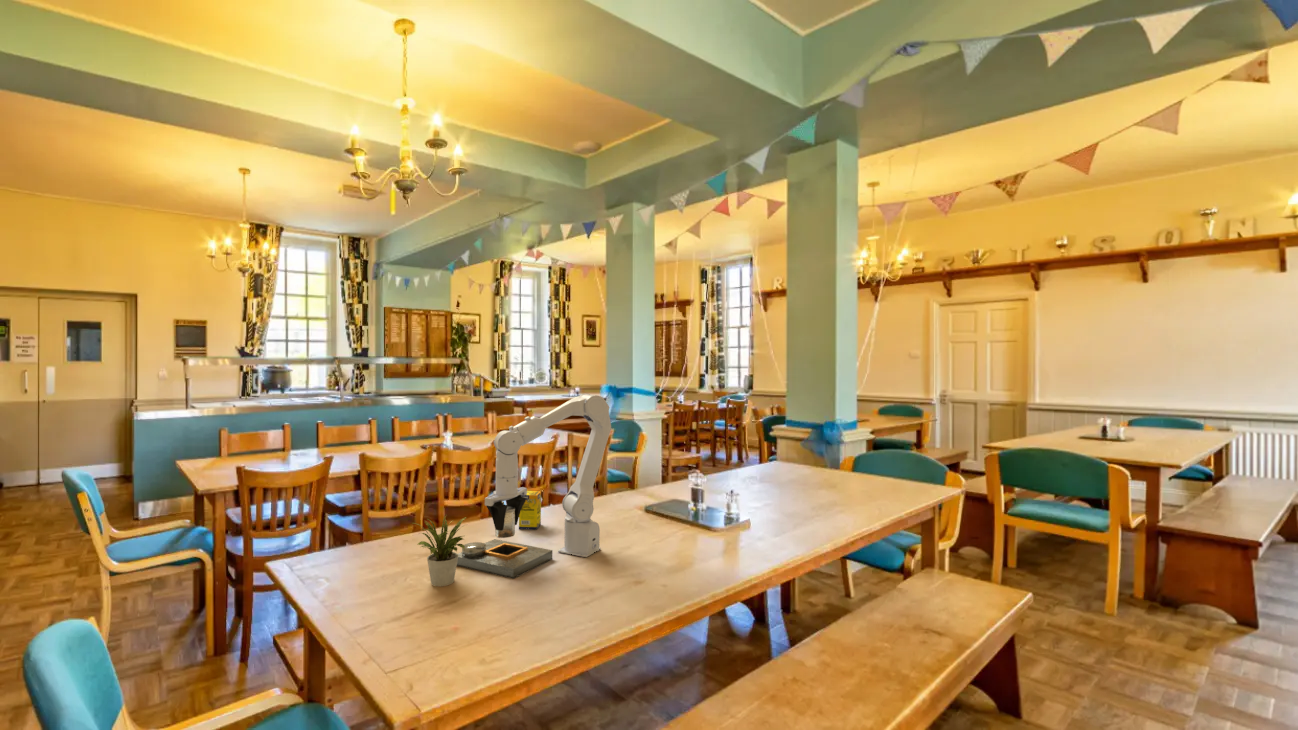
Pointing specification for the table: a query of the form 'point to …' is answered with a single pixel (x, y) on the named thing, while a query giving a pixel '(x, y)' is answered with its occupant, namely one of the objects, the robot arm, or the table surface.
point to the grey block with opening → (502, 557)
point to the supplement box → (531, 511)
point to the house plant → (442, 553)
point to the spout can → (507, 524)
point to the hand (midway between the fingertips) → (506, 527)
